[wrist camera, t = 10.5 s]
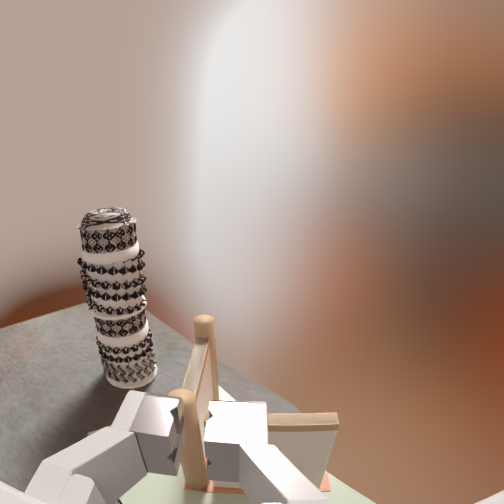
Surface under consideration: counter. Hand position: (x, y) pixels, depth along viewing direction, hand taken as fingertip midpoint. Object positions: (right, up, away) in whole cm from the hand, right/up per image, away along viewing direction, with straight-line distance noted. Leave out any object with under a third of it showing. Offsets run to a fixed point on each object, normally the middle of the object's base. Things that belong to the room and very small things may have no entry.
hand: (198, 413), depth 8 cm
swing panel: (+3, -19, +18) cm, 27 cm away
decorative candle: (-17, -14, +37) cm, 43 cm away
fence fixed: (-4, -18, +25) cm, 31 cm away
